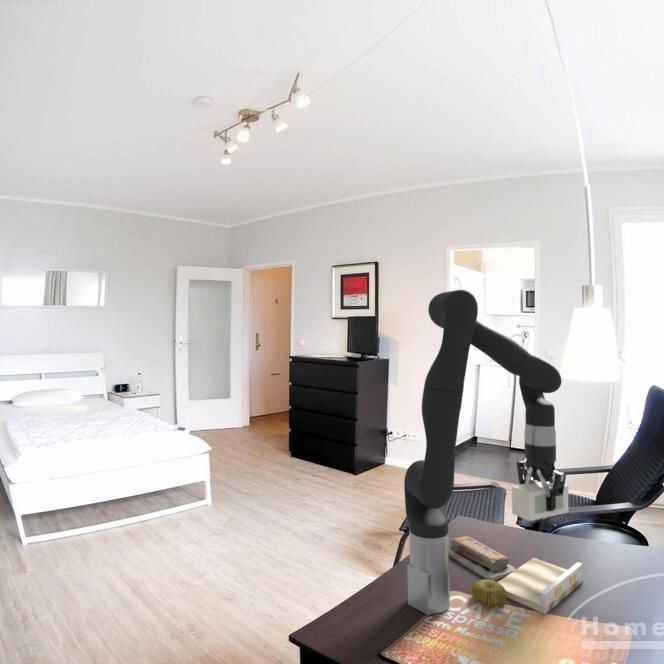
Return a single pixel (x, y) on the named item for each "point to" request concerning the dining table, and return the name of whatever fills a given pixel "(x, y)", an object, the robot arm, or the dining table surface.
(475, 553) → the packaged product
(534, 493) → the carton
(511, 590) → the shelf board
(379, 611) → the dining table surface
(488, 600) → the sculpture
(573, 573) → the rail
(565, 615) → the dining table surface
